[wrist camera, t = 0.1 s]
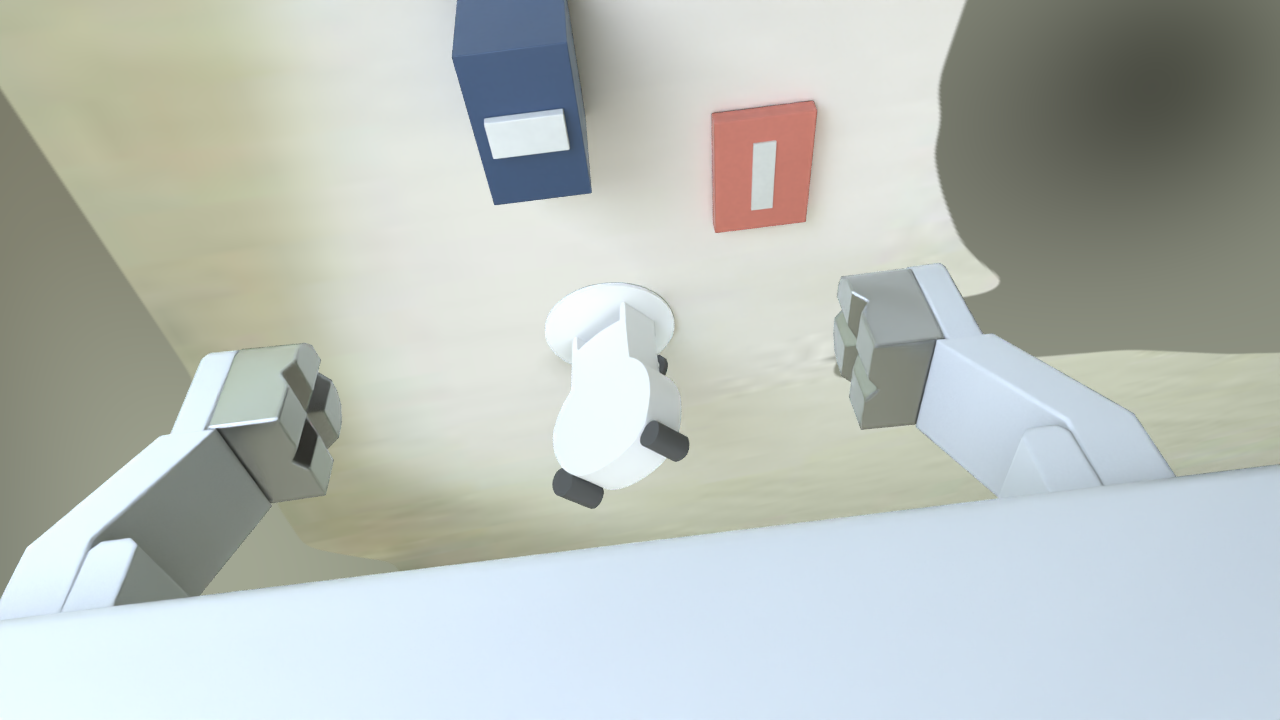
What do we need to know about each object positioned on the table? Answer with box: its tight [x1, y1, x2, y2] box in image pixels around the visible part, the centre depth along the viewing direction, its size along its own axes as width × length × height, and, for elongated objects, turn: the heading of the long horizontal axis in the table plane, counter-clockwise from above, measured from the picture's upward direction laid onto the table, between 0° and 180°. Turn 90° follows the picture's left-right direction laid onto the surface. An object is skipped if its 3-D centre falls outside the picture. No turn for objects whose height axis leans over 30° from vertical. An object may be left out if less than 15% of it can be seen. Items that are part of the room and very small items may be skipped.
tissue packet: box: [712, 101, 817, 233], centre depth 59 cm, size 10×7×1 cm
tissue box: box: [452, 0, 592, 205], centre depth 48 cm, size 10×6×9 cm, turn 5°
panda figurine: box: [545, 283, 689, 509], centre depth 67 cm, size 12×11×15 cm
